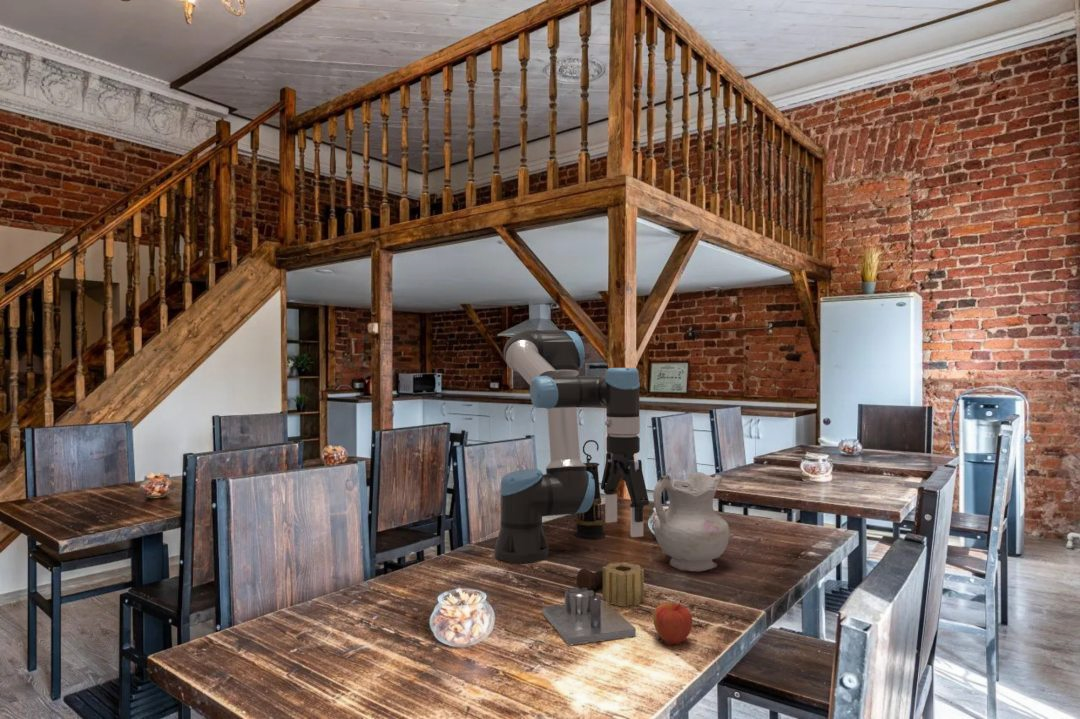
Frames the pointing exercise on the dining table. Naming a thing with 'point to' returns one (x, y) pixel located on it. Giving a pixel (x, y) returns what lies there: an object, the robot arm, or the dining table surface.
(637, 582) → the gear
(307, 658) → the dining table surface
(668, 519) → the ceramic pitcher
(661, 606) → the apple
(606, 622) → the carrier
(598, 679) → the dining table surface
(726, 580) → the dining table surface
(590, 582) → the bolt
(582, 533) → the lantern
